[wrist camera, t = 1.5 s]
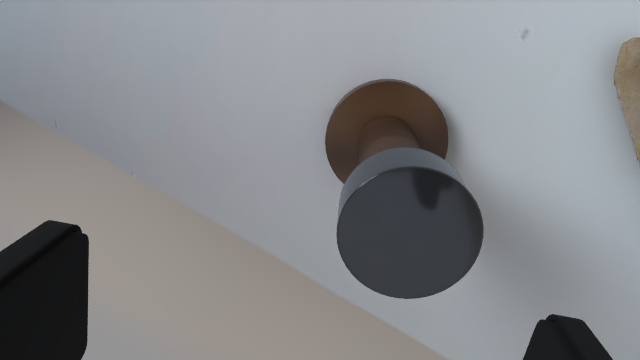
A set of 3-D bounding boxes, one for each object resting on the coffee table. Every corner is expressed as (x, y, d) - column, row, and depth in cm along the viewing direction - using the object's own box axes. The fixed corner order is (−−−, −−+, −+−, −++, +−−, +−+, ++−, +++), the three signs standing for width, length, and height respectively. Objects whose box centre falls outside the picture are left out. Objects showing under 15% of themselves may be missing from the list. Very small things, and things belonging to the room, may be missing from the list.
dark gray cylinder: (318, 175, 18) (313, 199, 16) (442, 126, 17) (455, 143, 15) (367, 281, 19) (368, 316, 17) (484, 240, 18) (502, 272, 16)
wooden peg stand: (307, 107, 28) (279, 160, 18) (421, 59, 27) (462, 85, 17) (353, 210, 30) (352, 311, 20) (461, 169, 29) (521, 255, 18)
